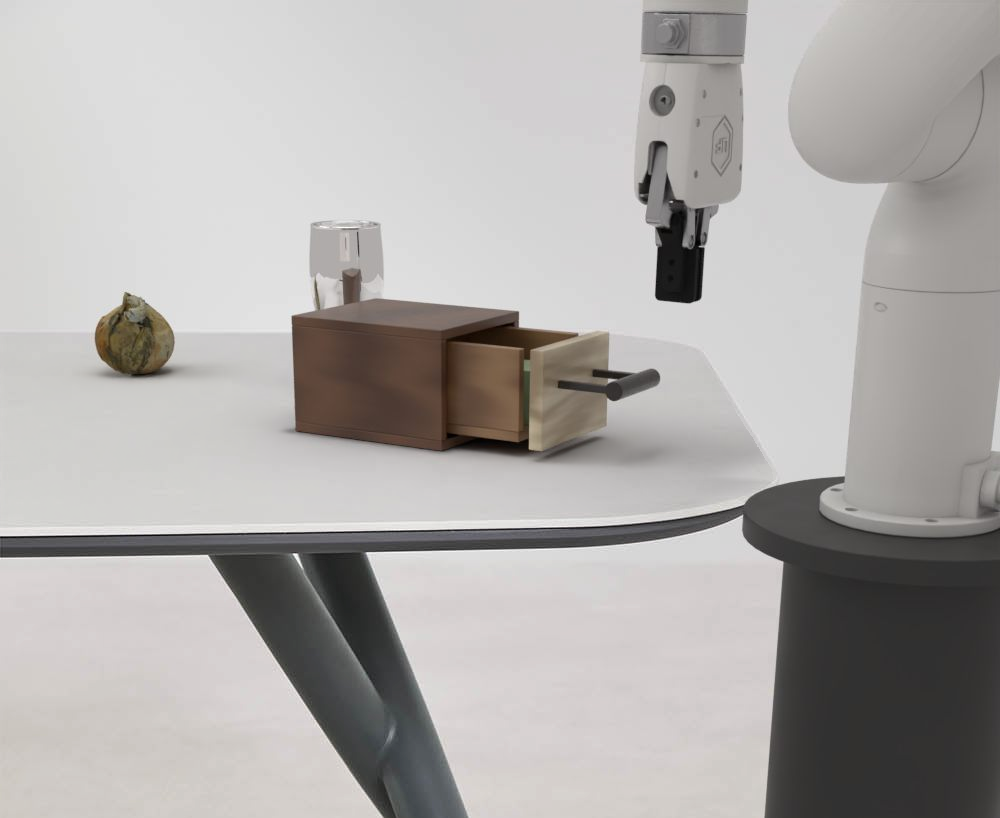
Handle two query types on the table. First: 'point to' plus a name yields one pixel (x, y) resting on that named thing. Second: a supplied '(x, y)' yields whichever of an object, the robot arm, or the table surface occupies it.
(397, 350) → the cabinet
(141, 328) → the onion
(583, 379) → the drawer
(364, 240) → the beer glass
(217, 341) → the table surface
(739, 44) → the robot arm
